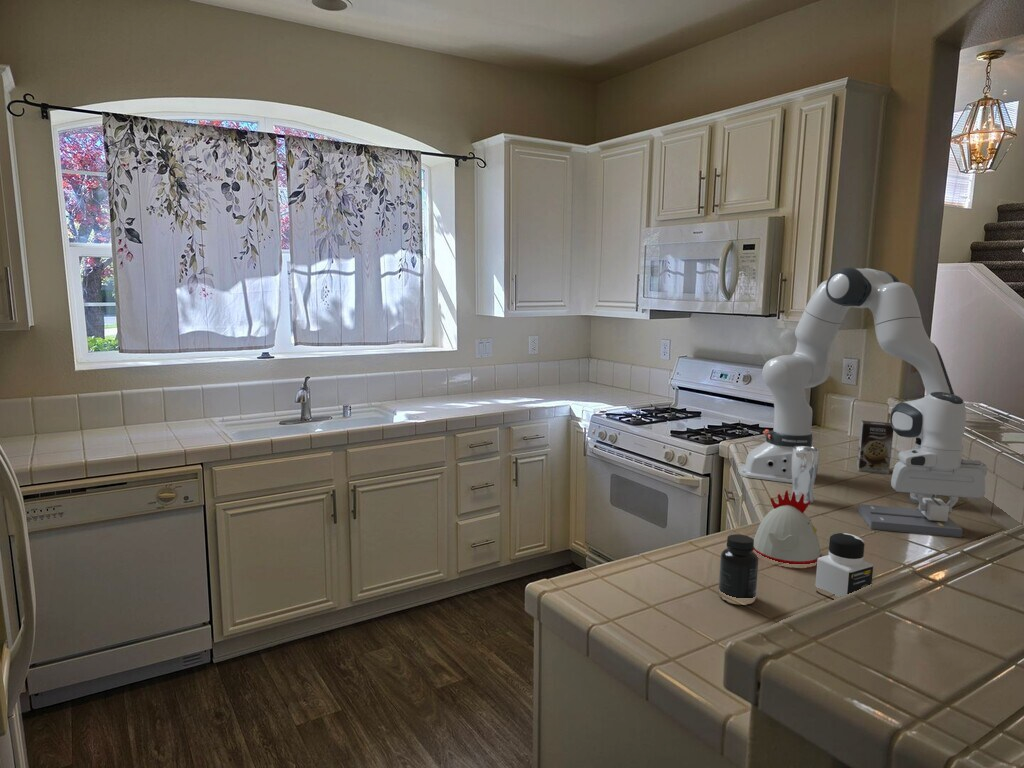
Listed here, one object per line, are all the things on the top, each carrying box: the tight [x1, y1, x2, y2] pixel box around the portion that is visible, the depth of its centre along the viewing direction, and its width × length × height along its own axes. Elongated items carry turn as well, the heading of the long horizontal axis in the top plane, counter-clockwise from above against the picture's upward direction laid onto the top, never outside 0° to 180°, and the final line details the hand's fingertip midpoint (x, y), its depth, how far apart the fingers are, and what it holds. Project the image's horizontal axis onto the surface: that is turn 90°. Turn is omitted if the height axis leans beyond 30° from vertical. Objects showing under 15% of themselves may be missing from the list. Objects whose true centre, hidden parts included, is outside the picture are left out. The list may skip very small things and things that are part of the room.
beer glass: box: [789, 446, 820, 504], centre depth 188 cm, size 7×7×15 cm
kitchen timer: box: [753, 490, 821, 564], centre depth 148 cm, size 14×14×15 cm
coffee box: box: [856, 420, 894, 475], centre depth 220 cm, size 9×6×16 cm
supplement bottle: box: [718, 533, 759, 598], centre depth 128 cm, size 7×7×12 cm
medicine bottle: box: [814, 532, 874, 597], centre depth 129 cm, size 7×7×12 cm
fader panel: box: [856, 503, 963, 538], centre depth 171 cm, size 20×14×2 cm
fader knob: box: [921, 497, 949, 522], centre depth 169 cm, size 4×6×4 cm, turn 165°
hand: (934, 511), depth 169 cm, fingers closed on fader knob, 4 cm apart
